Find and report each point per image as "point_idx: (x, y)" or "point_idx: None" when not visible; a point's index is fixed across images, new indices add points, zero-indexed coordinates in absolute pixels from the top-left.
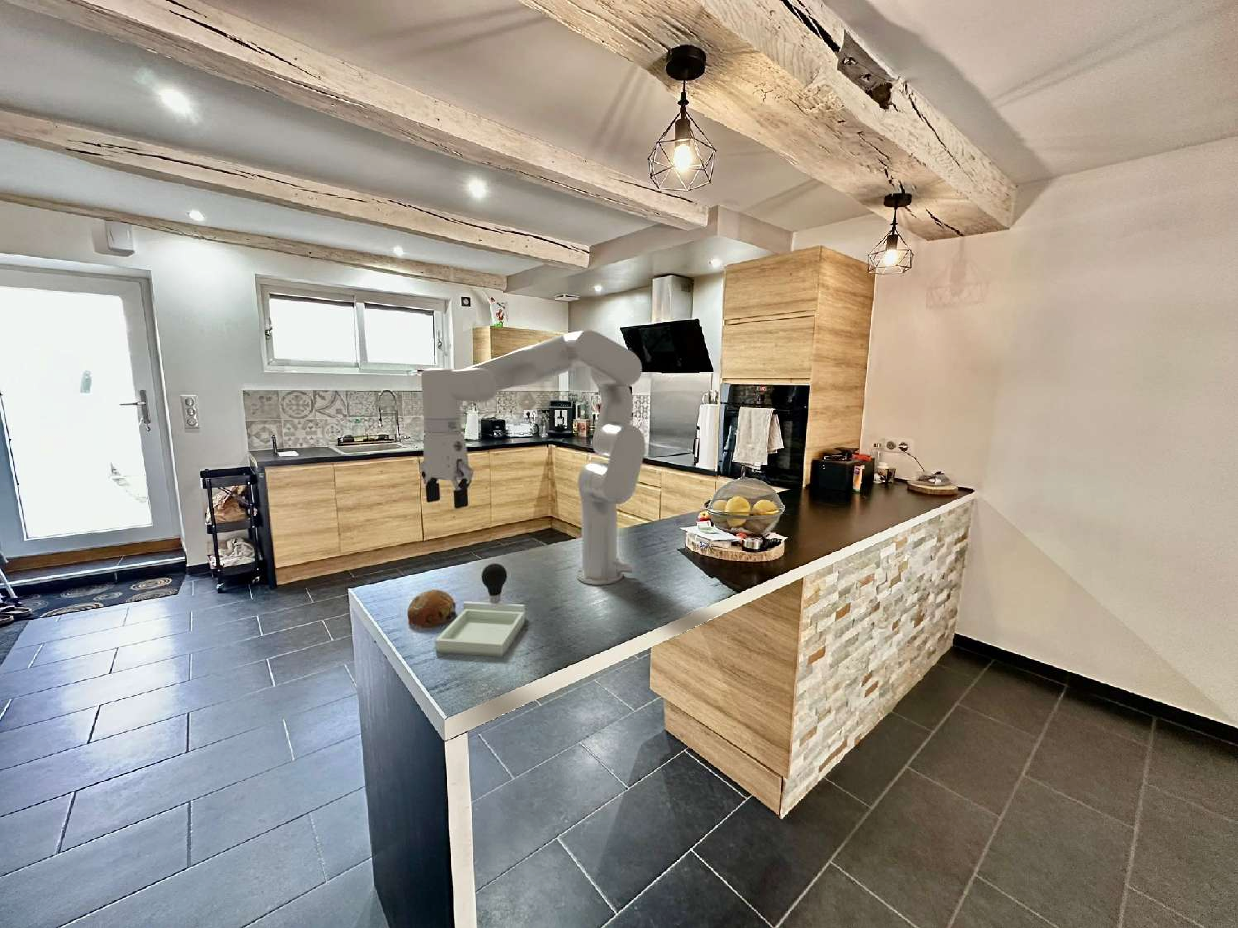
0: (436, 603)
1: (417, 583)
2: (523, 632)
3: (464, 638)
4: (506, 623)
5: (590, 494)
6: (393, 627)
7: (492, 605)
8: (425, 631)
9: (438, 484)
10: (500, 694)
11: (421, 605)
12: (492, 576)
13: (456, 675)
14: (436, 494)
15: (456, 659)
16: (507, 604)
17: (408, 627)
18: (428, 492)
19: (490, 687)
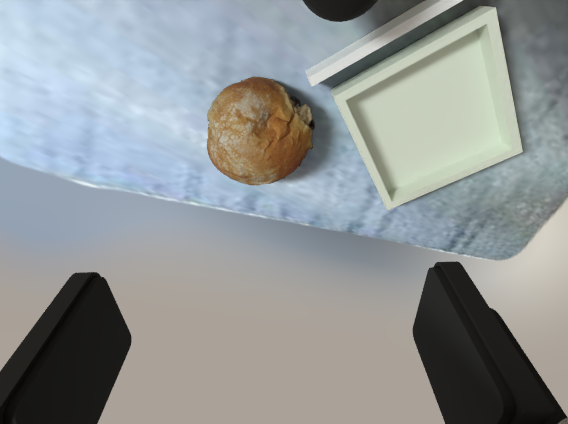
0: (293, 157)
1: (17, 31)
2: None
3: (402, 151)
4: (446, 51)
5: None
6: (238, 195)
7: (388, 41)
8: (302, 170)
9: (22, 416)
10: (558, 206)
11: (270, 178)
12: (371, 6)
13: (462, 214)
14: (90, 337)
15: (431, 191)
16: (429, 12)
17: None
18: (100, 410)
19: (534, 204)
